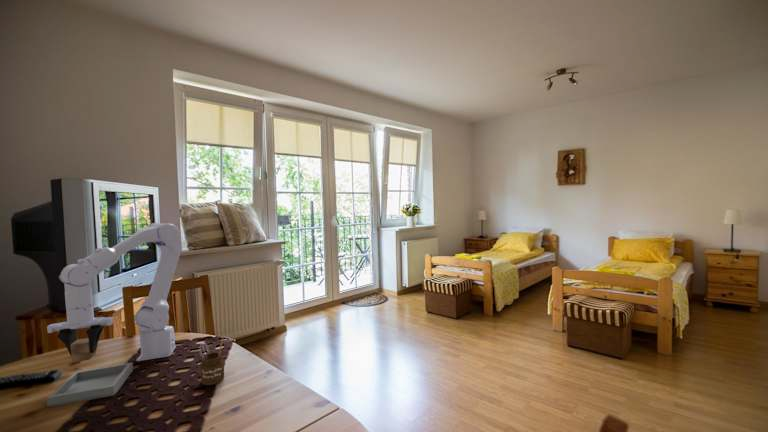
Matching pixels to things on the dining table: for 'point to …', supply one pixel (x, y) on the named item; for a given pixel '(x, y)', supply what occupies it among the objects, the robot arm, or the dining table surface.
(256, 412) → the dining table surface
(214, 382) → the utensil holder
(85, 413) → the dining table surface
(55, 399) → the tray
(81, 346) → the walnut block
